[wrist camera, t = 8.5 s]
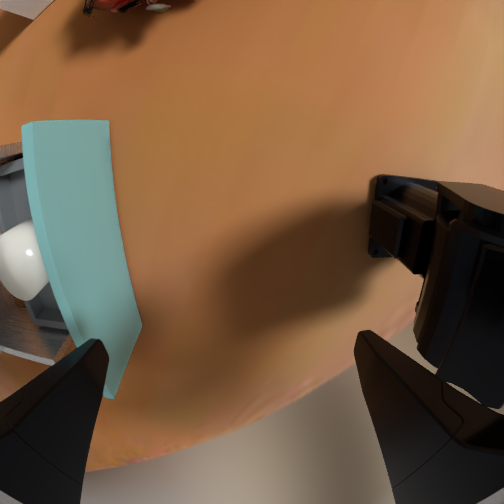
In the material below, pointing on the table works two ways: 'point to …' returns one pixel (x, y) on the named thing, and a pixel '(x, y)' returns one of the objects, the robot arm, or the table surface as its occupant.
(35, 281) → the grey rounded tapered piece
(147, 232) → the table surface
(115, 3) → the dragon fruit
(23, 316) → the dock
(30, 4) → the milk
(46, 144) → the drawer
